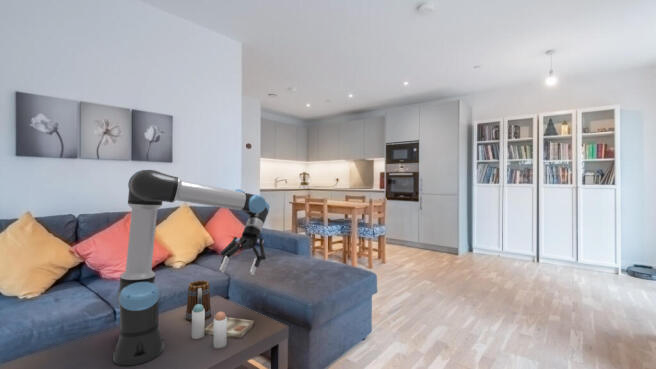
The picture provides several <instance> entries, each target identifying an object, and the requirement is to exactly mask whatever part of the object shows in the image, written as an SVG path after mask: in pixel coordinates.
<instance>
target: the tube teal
mask: <svg viewBox="0 0 656 369" xmlns="http://www.w3.org/2000/svg"><path fill="white" fill-rule="evenodd" d="M205 320H206V319H205V309H204V307H203V305H201V304H197V305H195V306H194V308H193V310H192V321H191V338H192V339H195V340H197V339H198V340H199V339H202V338H204V337H205V334H204V332H205V328H206V326H205V322H206V321H205Z"/></svg>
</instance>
